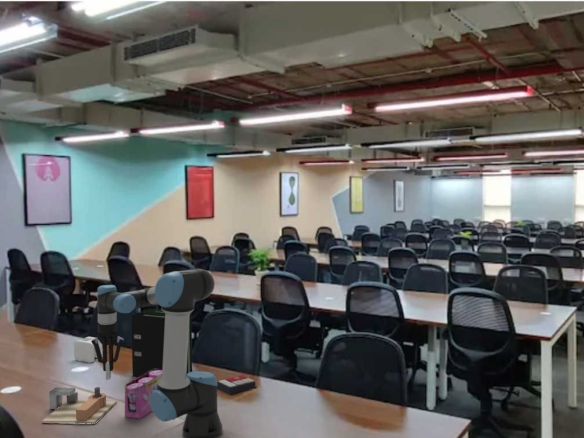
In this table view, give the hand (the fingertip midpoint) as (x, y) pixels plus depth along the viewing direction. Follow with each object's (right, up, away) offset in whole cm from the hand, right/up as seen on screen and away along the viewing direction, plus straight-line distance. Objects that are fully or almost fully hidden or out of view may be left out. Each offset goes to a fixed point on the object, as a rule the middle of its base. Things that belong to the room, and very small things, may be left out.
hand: (108, 378), depth 217 cm
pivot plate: (-13, -16, +3) cm, 20 cm away
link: (-8, -14, +2) cm, 16 cm away
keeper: (-23, -15, +9) cm, 29 cm away
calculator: (+50, -15, +31) cm, 61 cm away
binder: (+10, -14, +49) cm, 52 cm away
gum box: (+14, -16, +8) cm, 23 cm away
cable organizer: (-38, -13, +77) cm, 87 cm away
